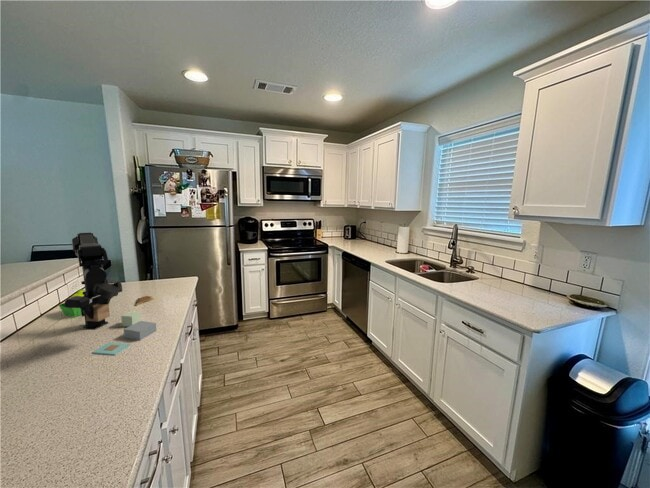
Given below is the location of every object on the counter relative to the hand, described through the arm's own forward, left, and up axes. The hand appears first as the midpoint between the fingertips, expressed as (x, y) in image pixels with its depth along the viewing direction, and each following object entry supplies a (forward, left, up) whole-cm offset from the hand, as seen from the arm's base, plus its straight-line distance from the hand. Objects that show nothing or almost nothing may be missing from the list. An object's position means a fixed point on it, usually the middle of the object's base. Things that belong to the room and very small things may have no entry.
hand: (98, 315), depth 105 cm
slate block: (+11, +8, -11) cm, 17 cm away
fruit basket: (-34, +22, -11) cm, 42 cm away
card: (+9, -4, -11) cm, 15 cm away
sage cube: (0, +16, -11) cm, 19 cm away
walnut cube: (0, 0, -1) cm, 1 cm away
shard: (-14, +42, -12) cm, 46 cm away
